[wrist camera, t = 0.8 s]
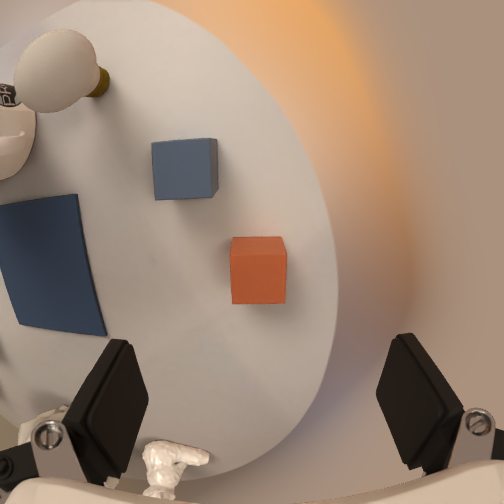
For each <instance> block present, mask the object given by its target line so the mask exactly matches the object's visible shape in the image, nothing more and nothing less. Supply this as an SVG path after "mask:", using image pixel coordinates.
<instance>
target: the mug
mask: <svg viewBox="0 0 504 504" xmlns="http://www.w3.org/2000/svg"><path fill="white" fill-rule="evenodd" d="M35 128H36V117H35V111H33V110H31V109H29V108H28V107H26V106H25V105H24V104H23V103H22V102H21V101H20V99H19V98H18V96H17V93H16V91H15V86H12V85H6V84H0V180H3V179H6V178H9V177H11V176H13V175H15V174H16V173H17V172H18V171H19V170H20V169H21V168H22V166H23V165H24V163H25V162H26V160H27V158H28V156H29V153H30V151H31V148H32V144H33V141H34V137H35Z"/></svg>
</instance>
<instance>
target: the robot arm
mask: <svg viewBox="0 0 504 504" xmlns="http://www.w3.org/2000/svg"><path fill="white" fill-rule="evenodd" d="M376 397H377V400H378V402H379V405H380V407H381V409H382V412H383V414H384V417H385V419H386V422H387V424H388V427H389V429H390V431H391V434H392V436H393V439H394V442H395V444H396V446H397V449H398V452H399V454H400V457H401V459H402V462H403V463H404V464H407V466H408V468H409V470H412V469H415V468H418V467H421V466H422V469H423V471H424V472H423V475H422V477H421V478H418V479H415V480H412V481H409V482H405V483H402V484H398V485H395V486H391V487H387V488H384V489H380V490H375V491H371V492H367V493H362V494H358V495H352V496H347V497H342V498H335V499H329V500H322V501H315V502H305V503H295V504H504V431H503V430H500V429H496V428H495V420H494V418H493V416H492V415H491V414H490V413H489V412H488V411H486V410H484V409H481V408H471V409H469V410H467V411H466V412H465V411H464V409H463V405H462V403H461V402H460V400H459V399H458V397H457V396H456V394H455V393H454V391H453V390H452V388H451V387H450V385H449V384H448V382H447V381H446V379H445V378H444V376H443V375H442V373H441V372H440V370H439V369H438V368H437V366H436V365H435V363H434V362H433V360H432V359H431V358H430V356H429V355H428V353H427V352H426V351H425V349H424V348H423V347H422V345H421V344H420V342H419V341H418V340H417V338H416V337H415V335H414V334H413V333H405V334H398V335H397V336H396V338H395V339H393V340H392V342H391V345H390V348H389V352H388V356H387V359H386V362H385V365H384V368H383V371H382V374H381V377H380V380H379V384H378V386H377V390H376ZM148 399H149V398H148V393H147V390H146V387H145V384H144V381H143V378H142V375H141V372H140V369H139V365H138V362H137V359H136V355H135V352H134V348H133V346H132V345H131V344H129V343H128V341H127V340H121V339H111V340H110V341H109V343H108V345H107V346H106V348H105V349H104V351H103V353H102V354H101V356H100V357H99V359H98V361H97V362H96V364H95V366H94V367H93V369H92V371H91V372H90V373H89V374H88V376H87V378H86V379H85V381H84V383H83V385H82V386H81V388H80V390H79V391H78V393H77V395H76V397H75V398H74V400H73V402H72V404H71V405H70V407H69V409H68V411H67V413H66V414H65V416H64V418H63V420H62V422H59V421H56V420H45V421H43V422H40V423H39V424H38V425H36V426H35V427H34V429H33V430H32V433H31V436H30V437H31V441H29V442H27V443H24V444H21V445H18V446H15V447H12V448H9V449H6V450H3V451H0V504H201V503H191V502H182V501H174V500H167V499H161V498H155V497H149V496H144V495H139V494H133V493H129V492H124V491H119V490H115V489H111V488H108V486H107V484H106V481H107V478H108V476H109V477H113V478H117V479H120V476H121V473H125V472H126V470H127V467H128V463H129V460H130V457H131V454H132V451H133V447H134V444H135V441H136V438H137V435H138V432H139V429H140V426H141V423H142V420H143V417H144V414H145V411H146V408H147V405H148Z"/></svg>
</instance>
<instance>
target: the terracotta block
mask: <svg viewBox="0 0 504 504" xmlns="http://www.w3.org/2000/svg"><path fill="white" fill-rule="evenodd" d="M286 270H287V253H286V250H285V246H284V243H283V240H282V237H233V240H232V245H231V250H230V274H231V295H232V304H278V303H285V296H286Z"/></svg>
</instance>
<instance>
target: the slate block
mask: <svg viewBox="0 0 504 504" xmlns="http://www.w3.org/2000/svg"><path fill="white" fill-rule="evenodd" d="M152 165H153V180H154V194H155V200H174V199H197V198H212V197H213V196H214V194H215V193H216V191H217V190H218V159H217V139H213V138H199V139H185V140H173V141H162V142H153V143H152Z"/></svg>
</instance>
